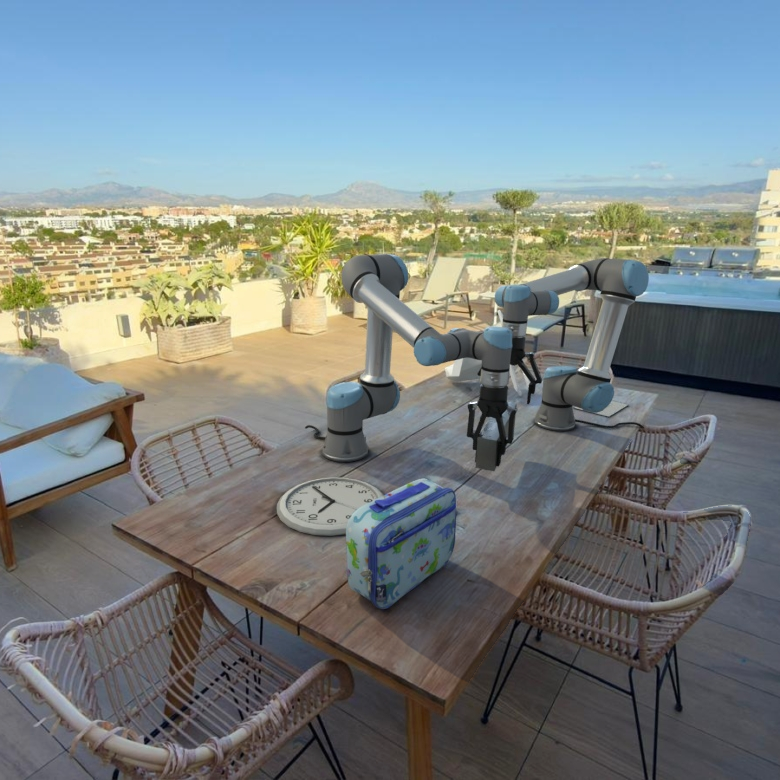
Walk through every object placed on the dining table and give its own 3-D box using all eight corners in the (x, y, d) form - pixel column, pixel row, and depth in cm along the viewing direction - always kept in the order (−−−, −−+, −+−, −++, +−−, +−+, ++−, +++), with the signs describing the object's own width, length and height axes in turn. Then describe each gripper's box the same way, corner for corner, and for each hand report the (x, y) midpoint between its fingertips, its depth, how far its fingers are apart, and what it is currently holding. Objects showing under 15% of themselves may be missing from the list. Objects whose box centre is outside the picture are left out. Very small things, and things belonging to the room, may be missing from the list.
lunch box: (375, 622, 100) (376, 527, 94) (339, 595, 108) (338, 505, 101) (459, 565, 118) (465, 481, 112) (424, 545, 125) (427, 465, 119)
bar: (498, 427, 177) (500, 401, 174) (514, 429, 175) (516, 403, 172) (475, 468, 146) (477, 437, 144) (494, 471, 145) (496, 440, 142)
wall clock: (392, 527, 129) (268, 531, 127) (391, 533, 130) (269, 537, 127) (383, 473, 158) (282, 475, 155) (383, 478, 158) (282, 480, 156)
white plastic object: (466, 425, 257) (443, 402, 232) (448, 350, 279) (426, 321, 254) (539, 401, 244) (523, 374, 220) (514, 324, 267) (497, 292, 242)
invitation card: (608, 416, 214) (573, 407, 224) (608, 416, 214) (573, 408, 224) (628, 404, 229) (594, 396, 238) (628, 405, 229) (594, 397, 238)
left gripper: (457, 383, 142) (453, 461, 149) (526, 392, 135) (518, 473, 142) (464, 377, 149) (459, 452, 155) (530, 385, 142) (522, 462, 149)
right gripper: (471, 333, 164) (466, 397, 170) (553, 341, 155) (545, 409, 162) (476, 329, 171) (472, 391, 177) (556, 337, 162) (548, 402, 168)
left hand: (487, 462), depth 149 cm, fingers closed on bar, 5 cm apart
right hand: (507, 400), depth 169 cm, fingers open, 13 cm apart
